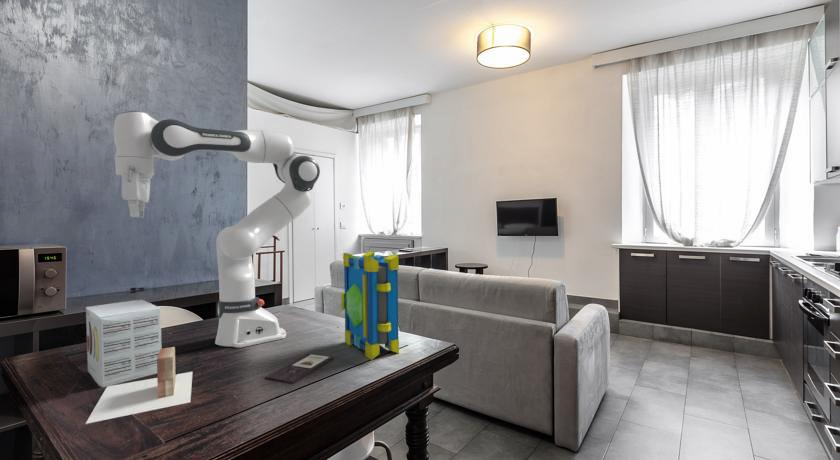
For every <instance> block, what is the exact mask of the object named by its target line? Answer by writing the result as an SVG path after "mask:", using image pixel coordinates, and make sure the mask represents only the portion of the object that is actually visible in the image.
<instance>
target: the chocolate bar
mask: <svg viewBox="0 0 840 460" xmlns="http://www.w3.org/2000/svg"><path fill="white" fill-rule="evenodd" d="M333 360H334V356H333V357H332V356H325V355H317V354H310V353H307V354H305V355H303V356H302V357H300V358H297V359H296V360H294V361H292V362H290V363H289V364H287V365H284V366H283V367H280V368H279V369H277V370H275V371H273V372H272V373H270V374H268V375H266V376H264V377H263V379H264V380H268V381H272V382H273V381H274V382H281V383H285V384H286V383H287V384H291V385H293V384H295V383H297V382H299V381H300V380H302V379H304V378H305V377H308V375H310V374H312V373H313V372H315V371H317V370H318V369H320V368H322V367H323V366H325V365H327V364H329V363H330V362H331V361H333Z"/></svg>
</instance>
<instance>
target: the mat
mask: <svg viewBox="0 0 840 460" xmlns="http://www.w3.org/2000/svg"><path fill="white" fill-rule="evenodd" d="M175 374H176V373H175ZM192 383H193V371H188V372H183V373H177V374H176V384H175V390H174V395H172V396H167V397H162V398H158V382H157V377H154V378H148V379H143V380H137V381H136V380H135V381H131V382H130V381H129V382H126V383H125V382H123V383H118V384H114V385H110V386H106V387H105V390H104V392H103V393H102V395H101V396H100V398H99V400H98V402H97V403H96V405H95V407H94V408H93V410H92V412H91V414H90V415H89V417H88V419H87V420H86V422H85V425H88V424H92V423H93V424H94V423H98V422H103V421H107V420H111V419H117V418H122V417H125V416H131V415H135V414H140V413H145V412H150V411H155V410H160V409H164V408H169V407H174V406H179V405H185V404H188V403H191V399H192V398H191V397H192V387H193V385H192Z"/></svg>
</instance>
